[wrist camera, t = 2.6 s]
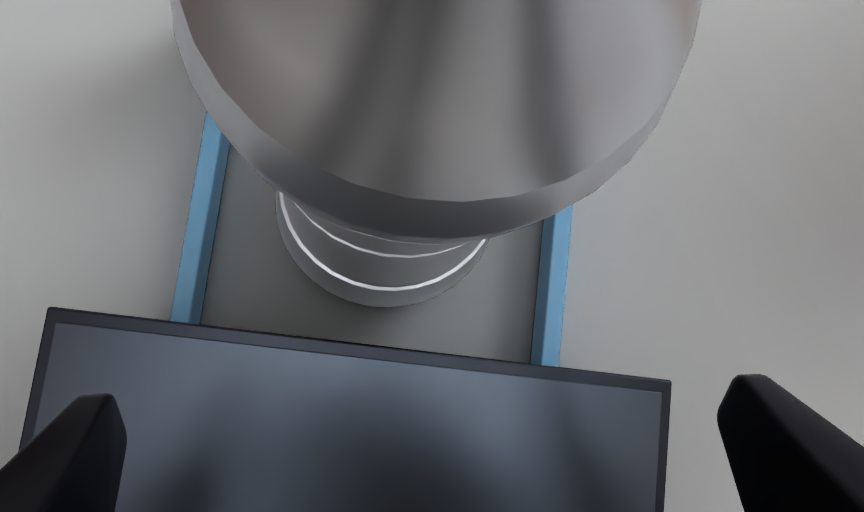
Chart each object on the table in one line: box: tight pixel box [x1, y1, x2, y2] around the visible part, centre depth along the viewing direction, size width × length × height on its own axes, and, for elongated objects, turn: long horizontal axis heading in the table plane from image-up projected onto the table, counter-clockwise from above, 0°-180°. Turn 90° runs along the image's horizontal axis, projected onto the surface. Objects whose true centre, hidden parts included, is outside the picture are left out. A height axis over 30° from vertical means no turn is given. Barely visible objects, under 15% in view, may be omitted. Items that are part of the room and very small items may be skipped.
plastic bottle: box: [171, 0, 702, 307], centre depth 13 cm, size 6×7×20 cm
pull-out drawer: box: [170, 111, 573, 367], centre depth 20 cm, size 19×14×6 cm
